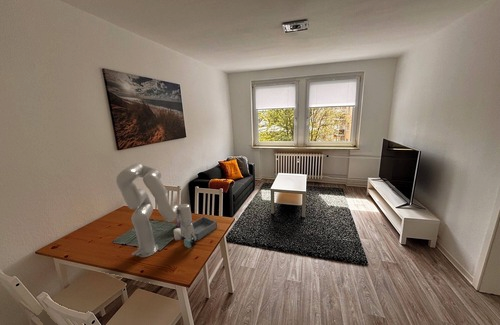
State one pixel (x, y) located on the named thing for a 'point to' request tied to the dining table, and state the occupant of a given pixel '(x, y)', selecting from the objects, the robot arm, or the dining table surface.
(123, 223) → the dining table surface
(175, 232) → the white cylinder
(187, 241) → the teal cube
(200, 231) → the tote
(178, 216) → the candy bar box
